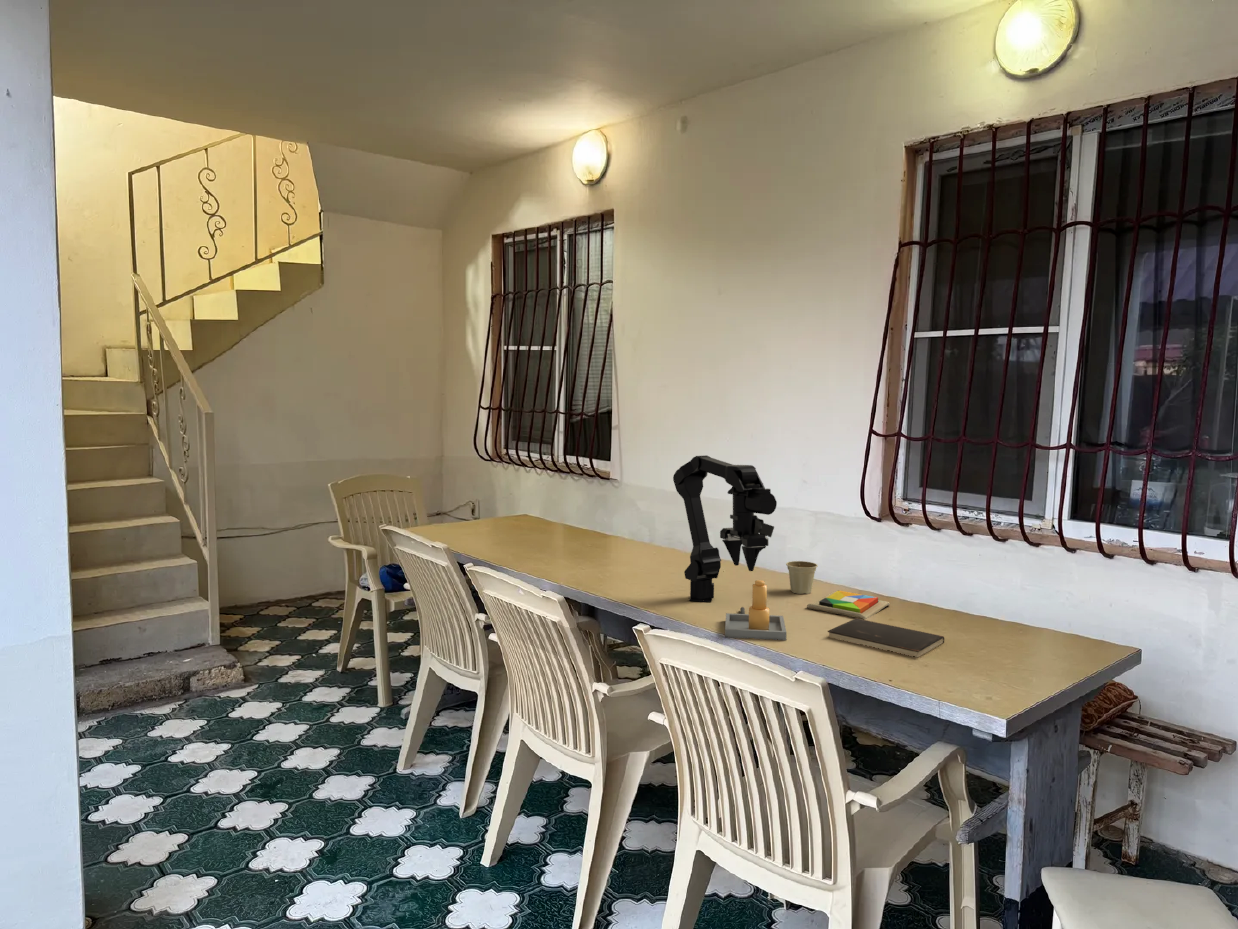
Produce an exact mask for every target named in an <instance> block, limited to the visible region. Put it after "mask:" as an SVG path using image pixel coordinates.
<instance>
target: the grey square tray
mask: <svg viewBox="0 0 1238 929" xmlns="http://www.w3.org/2000/svg"><path fill="white" fill-rule="evenodd" d="M724 624H725V627H724V638H731V639H732V638H733V639H734V638H735V639H749V638H754V639H755V640H770V639H773V640H774V641H776V640H777V639H778V640H777V641H787V628H786V625H785V620H784V616H783V615H777V614H776V615H774V614H769V630H750V629H748V628H749V613H745V614H740V613H729V612H727V613H726V612H725V623H724ZM773 640H772V641H773Z"/></svg>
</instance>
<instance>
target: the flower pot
mask: <svg viewBox="0 0 1238 929" xmlns="http://www.w3.org/2000/svg"><path fill="white" fill-rule="evenodd" d="M785 565H786V566H787V567H786V568H787V570H788V575H789V577H788V578H789V585H790V592H792V593H794V594H798V595H803V594H806V595H808V594H809V595H810V594H812V591H813V585H814V584H813V583H814V580H815V574H816V572H817V571H816V570H817V568H818V566H819V565H818V564H817V563H815V562H811V561H804V560H792V561H788V562H786V563H785Z"/></svg>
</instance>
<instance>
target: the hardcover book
mask: <svg viewBox="0 0 1238 929" xmlns="http://www.w3.org/2000/svg"><path fill="white" fill-rule="evenodd" d="M827 633H829V636H828V638H830V639H834V638H836V639H835V640H839V639H841V640H840V641H843V640H844V641H843V642H847V641H848V642H849V643H852V644H858V645H860V644H863V645H862V646H865V645H867V646H866V647H869V646H872V647H871V648H873V647H875V648H874V649H878V648H879V649H878V650H882V649H883V650H882V651H887V650H890V651H889V652H891V651H893V652H892V653H895V652H897V654H900V653H901V655H904V654H905V656H908V655H909V657H913V656H915V657H914V658H917V657H918V658H919V657H921V656H922V655H923V656H924V655H925V654H926V653H928V652H929V651H931V650H933V649H935V648H937V647H938V646H940V645H942V644H944V643H945V636H944V635H940V634H935V633H930V632H925V631H920V630H915V629H910V628H906V627H900V626H896V625H891V624H885V623H881V622H876V621H872V620H871V621H870V620H868V619H861V618H853V619H852V620H849V621H847V622H845V623H842V624H840V625H837V626H836V627H834V628H830V629H829V630H827ZM848 642H847V643H848Z"/></svg>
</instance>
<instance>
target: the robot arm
mask: <svg viewBox="0 0 1238 929" xmlns="http://www.w3.org/2000/svg"><path fill="white" fill-rule="evenodd" d="M708 474H712V475H714V476H716V477H720V478H722V479H723V480H724V481H725V482H726V483H727V484H728V485H730V486H732V487H731V488H729V490H728V491H727V495H732V514H730V515H729V519H732V527H723V528H721V529H720V532H719V536H720V537H719V538H720V539H721V540H722V541H721V542H722V543H723V544H724V546H725V548H726V550H727V552H728V554H729V556H730V558H731V560H732V563H733V565H734V566H739V565H740V558H741V551H742V553H743V556H744V559H745V563H746V566H747V569H748V571H749V572H754V569H755V566H756V563H757V560H758V556H759V553H760V552H761V551H762V550H763V549H766V548H767V547H768V546H769V538H772V536H773V532H774V530H775V526H774V525H772V524H769V523H766V522H765V523H764V519H762V518H759V517H758V516H757V515H756V514H760V515H767V516H770V515H772V514H773V513H774V512H776V508H777V504H778V502H777V499H776V496H775V495H774V494H773V493H771V492H772V491H771V488H766V487H765V484H764V483H763V481H762V479H761V477H760V476H759V472H758V471H757V468H756V467H755V466H754V465H752V464H733V463H730V462H726V461H723V460H719V459H716V458H714V457H710V456H709V455H695V456H693V457H692V458H691V459H690V461H688V462H686V463H685V464H683V465H682V466H679V468H678V469H677V470H675V472H674V474H673V478H672V479H673V483H674V487H675V490H676V492H677V494H679V496H680V497H681V498H682V500H683V503H684V506H685V507H684V508H685V512H686V518H687V522H688V527H689V533H690V536H691V542H692V550H691V553H690V555H689V559H690V564H689V565H688V566H687V567H686V568H685V570H684V577H685V578H684V579H686V580H688V581H690V584H689V585H690V587H689V588H690V589H689V590H690V592H689V594H690V596H689V601H690V602H706V603H707V602H708V603H709V602H711V603H712V602H713V599H715V598H714V597H715V582H713V579H718V578H719V573H720V569H721V564H722V563H721V562H722V559H721V557H720V549H719V548H718V547H714V546H713V545H712V543H711V542H710V538H709V532H708V527H707V522H706V518H705V513H704V508H703V504H702V503H703V502H702V499H701V494H702V492H703V488H704V480H705V478H707V476H708ZM741 549H742V550H741Z"/></svg>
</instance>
